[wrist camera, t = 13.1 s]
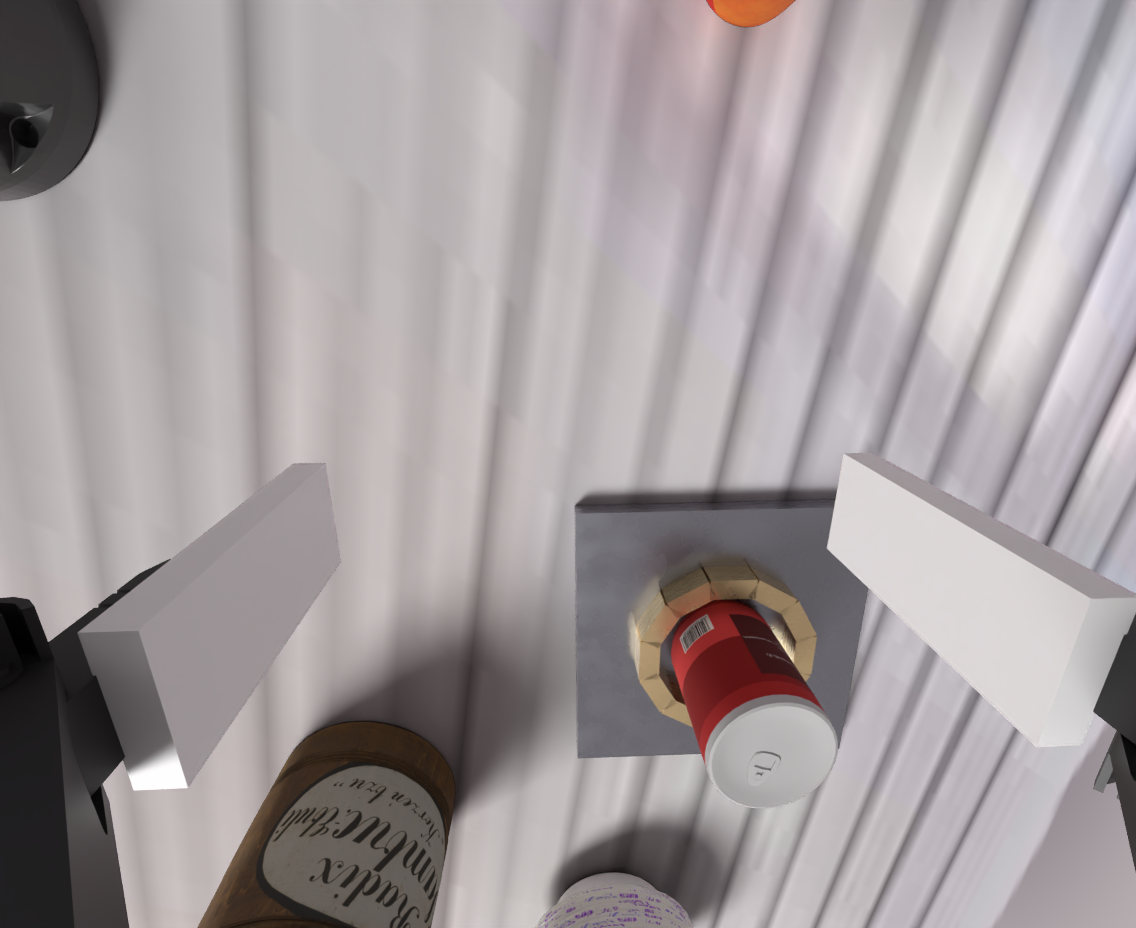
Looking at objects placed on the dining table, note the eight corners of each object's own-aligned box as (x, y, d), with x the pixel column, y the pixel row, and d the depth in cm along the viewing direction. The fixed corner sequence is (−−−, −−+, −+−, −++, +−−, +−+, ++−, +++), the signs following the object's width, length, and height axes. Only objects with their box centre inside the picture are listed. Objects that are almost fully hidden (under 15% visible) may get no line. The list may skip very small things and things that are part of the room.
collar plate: (576, 743, 46) (579, 779, 43) (574, 505, 40) (577, 525, 36) (830, 734, 47) (851, 768, 44) (870, 498, 40) (900, 517, 37)
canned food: (663, 683, 43) (699, 810, 32) (674, 594, 40) (717, 701, 30) (758, 684, 43) (824, 811, 33) (774, 597, 41) (852, 703, 30)
